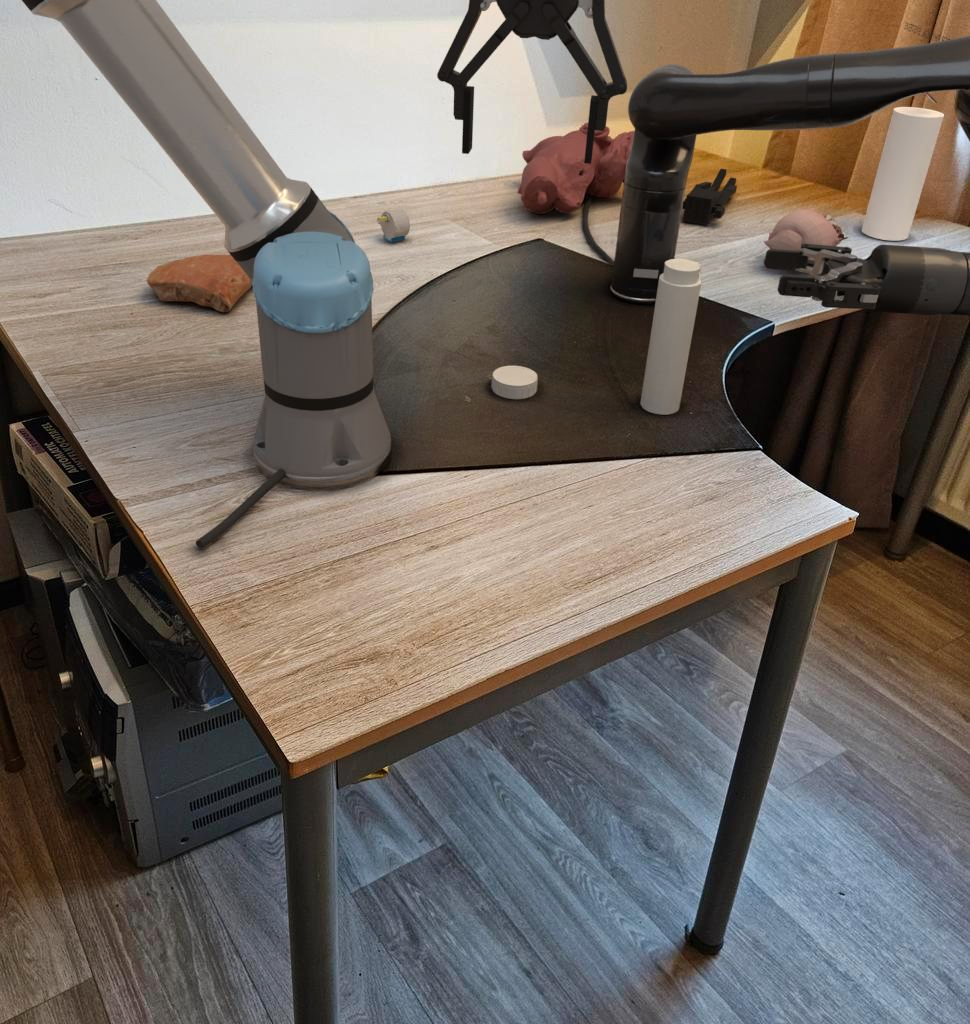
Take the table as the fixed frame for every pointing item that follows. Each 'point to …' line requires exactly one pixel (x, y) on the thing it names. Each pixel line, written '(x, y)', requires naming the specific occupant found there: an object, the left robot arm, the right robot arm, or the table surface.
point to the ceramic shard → (201, 281)
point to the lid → (514, 382)
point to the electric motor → (394, 225)
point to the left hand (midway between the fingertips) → (527, 156)
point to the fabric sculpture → (573, 170)
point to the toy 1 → (708, 200)
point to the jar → (671, 336)
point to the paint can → (902, 170)
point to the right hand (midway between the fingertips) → (772, 271)
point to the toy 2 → (804, 231)
